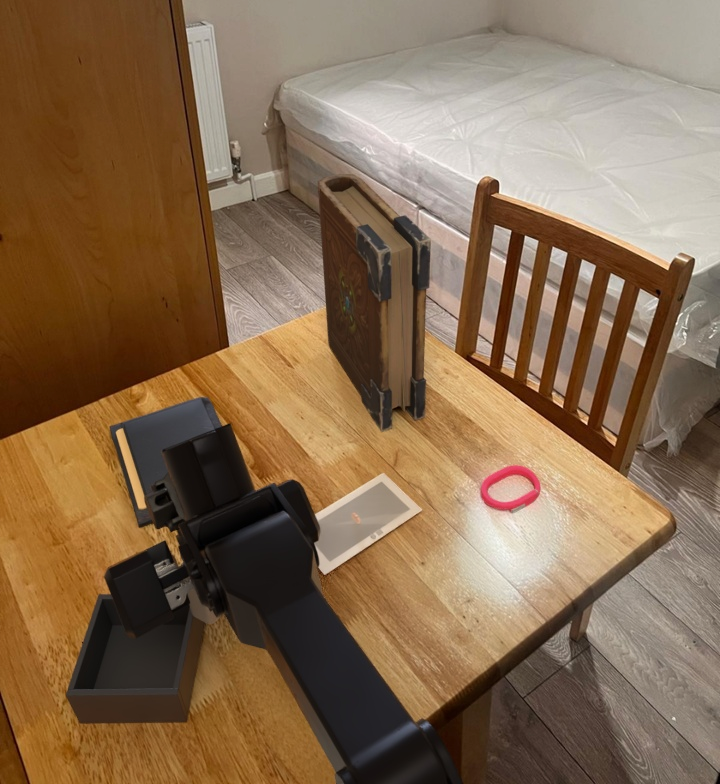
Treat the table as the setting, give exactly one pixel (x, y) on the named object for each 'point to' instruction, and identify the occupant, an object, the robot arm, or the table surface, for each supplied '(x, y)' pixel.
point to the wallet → (157, 445)
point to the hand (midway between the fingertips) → (202, 549)
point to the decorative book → (375, 296)
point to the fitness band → (517, 503)
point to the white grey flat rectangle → (361, 520)
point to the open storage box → (135, 669)
